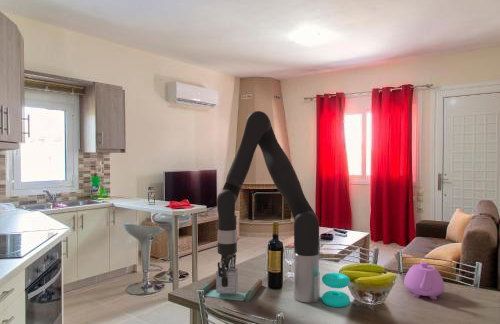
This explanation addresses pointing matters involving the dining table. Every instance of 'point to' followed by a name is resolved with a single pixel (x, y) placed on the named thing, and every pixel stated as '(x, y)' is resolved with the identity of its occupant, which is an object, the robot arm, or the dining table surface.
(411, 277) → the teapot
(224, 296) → the front pad
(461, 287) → the dining table surface
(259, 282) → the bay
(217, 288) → the medicine box
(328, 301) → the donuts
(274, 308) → the dining table surface
